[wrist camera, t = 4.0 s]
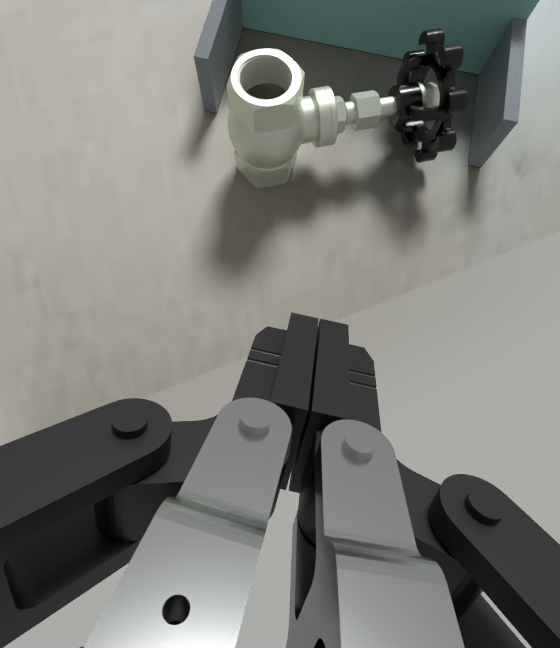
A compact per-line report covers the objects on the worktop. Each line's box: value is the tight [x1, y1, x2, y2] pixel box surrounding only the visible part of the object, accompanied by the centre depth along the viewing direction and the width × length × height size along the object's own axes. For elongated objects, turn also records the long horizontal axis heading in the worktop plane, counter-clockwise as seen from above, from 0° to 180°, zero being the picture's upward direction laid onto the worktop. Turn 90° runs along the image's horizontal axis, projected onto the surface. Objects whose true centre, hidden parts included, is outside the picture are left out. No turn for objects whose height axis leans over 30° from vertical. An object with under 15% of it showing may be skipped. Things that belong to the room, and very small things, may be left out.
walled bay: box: [194, 0, 539, 167], centre depth 24 cm, size 18×8×6 cm, turn 78°
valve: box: [227, 28, 469, 188], centre depth 23 cm, size 7×7×12 cm
